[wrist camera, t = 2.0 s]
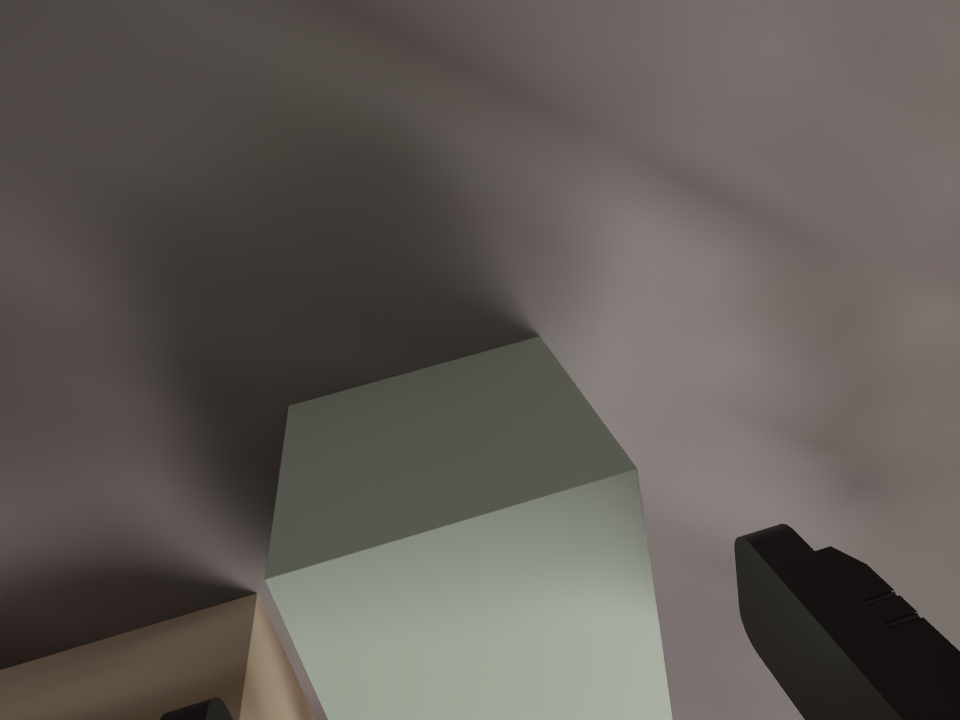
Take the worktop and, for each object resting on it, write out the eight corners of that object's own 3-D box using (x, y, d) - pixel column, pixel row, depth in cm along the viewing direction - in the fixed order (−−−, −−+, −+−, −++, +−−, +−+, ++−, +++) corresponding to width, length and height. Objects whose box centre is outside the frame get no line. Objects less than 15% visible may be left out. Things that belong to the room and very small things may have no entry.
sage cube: (289, 404, 13) (264, 579, 9) (538, 334, 14) (638, 468, 9) (362, 596, 15) (373, 819, 11) (576, 532, 16) (672, 720, 11)
